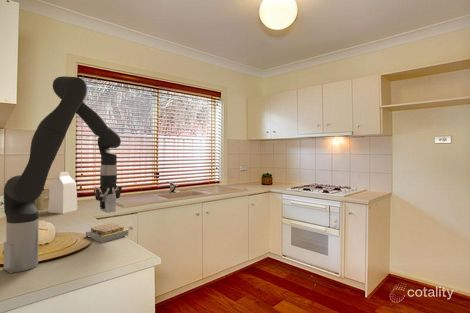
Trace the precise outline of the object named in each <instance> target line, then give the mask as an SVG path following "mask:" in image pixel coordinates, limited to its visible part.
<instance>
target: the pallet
mask: <svg viewBox="0 0 470 313" xmlns="http://www.w3.org/2000/svg"><path fill="white" fill-rule="evenodd" d="M124 229H125V226H122V225H119V224H116V223H112V222H108V223H104V224H101V225H97V226H93V227H90V230H91V232H95V231H96V233H97V234H99V233H101V235H102V236H104V235H107V234H111V233H115V232H119V231H122V230H124Z"/></svg>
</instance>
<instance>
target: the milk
mask: <svg viewBox="0 0 470 313" xmlns="http://www.w3.org/2000/svg"><path fill="white" fill-rule="evenodd" d="M48 195H49V196H48V208H47V210H48V211H47V212H48V213H53V214H60V215H61V214H62V215H63V214H66V213H70V212H74V211H78V193H77V183H76V181H75V180H74V179H73V178H72V177H71V176H70V174H69V171H62V172H59V173H58V175H57V177H55V178H54V180H52V181H51V182H50V185H49V194H48Z"/></svg>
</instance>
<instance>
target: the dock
mask: <svg viewBox="0 0 470 313" xmlns="http://www.w3.org/2000/svg"><path fill="white" fill-rule="evenodd" d="M129 231H130V230H129V229H126V228H124V230H122V231H119V232H115V233H111V234H107V235H104V236H102V235H101V233H99V234H97V233H96V231H95V232H91V229H90V230H86V231H85V237H86V236H90V237H91V238H92V239H91V238H90V239H91V240H94V241H97V242H100V243H105V242H110V241H113V240H116V239H120V238H123V237H126V236H129Z"/></svg>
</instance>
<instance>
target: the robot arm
mask: <svg viewBox="0 0 470 313" xmlns="http://www.w3.org/2000/svg"><path fill="white" fill-rule="evenodd" d="M52 89H53V92H54V94H55V95H56V96H57V97H58V98H59V99H60V102H59V104H58V105H57V106H56V107H55V108H54V109H53V110H52V111H51V112H50V113H48V114H47V115H46V116H44V118H43V119H42V120H41V121H40V122H39V124H38V125H37V128H36V129H35V131H34V133H33V136H32V138H31V142H30V149H29V150H30V151H29V158H28V162H27V164H26V166H25V168H24V169H23V172H22V174H21V175H16V176H12V177H10V178H9V179H8V180H7V181H6V182H5V184H4V187H3V212H4V214H5V218H6V219H5V223H6V227H5V228H6V230H5V233H6V234H5V235H6V236H5V242H3V269H4V270H5V271H6V272H7V273H9V274H13V273H17V272H18V273H19V272H20V273H21V272H24V271H27V270H31V269H33V268H36V267H37V266H38V265H39V236H40V235H39V232H40V231H39V230H40V228H39V225H40V220H39V219H40V218H39V217H40V214H39V212H40V211H39V210H38V208H37V207H36V203H35V201H36V200H37V199H38V198H40V196H41V195H42V193H43V191H44V188H45V185H46V182H47V179H48V175H49V173H50V170H51V167H52V165H53V162H54V161H55V159H56V156H57V154H58V153H59V150H60V148H61V146H62V143H63V141H64V140H65V137H66V134H67V133H68V130H69V129H70V127H71V123H73V122H72V121H73V120H74V118H75V115H76V114H77V116H78V117H79V118H81V120H82V121H83V122H84V123H85V125H86V126H87V127H88V128H89V129H90V131H91V132H92V133H93V134H94V135H95V136H97V146H98V150H99V153H100V168H99V183H100V186H99V187H98V188H94V189H93V193H94V197H95V198H94V199H95V200H96V201H98V202H99V208H101V209H105V202H104V201H105V196H106V195H107V194H115V195H116V200H117V199H119V198H121V197H120V196H121V194H122V193H121V192H122V190H123V187H122V186H120V185H117V182H118V167H117V165H118V164H117V163H118V162H117V160H118V159H117V158H118V156H117V154H116V153H114V152H111V150H110V149H116V148H118V147H120V145H121V144H122V143H121V142H122V141H121V137H120V135H119V134H118V133H117V132H116V131H115V130H113V129H112V127H110V126H109V125H108V124H107V122H106V121H105V120H104V119H103V117H102V116H101V115H100V114H99V113H98V112H97V111H96V110H94V109H93V108H92V107H90V106H89V105H88V104H86V102H85V101H84V100H85V99H86V96H87V93H88V84H87V82H86V81H85V80H84V79H83V78H82V77H79V76H77V77H76V76H63V75H62V76H57V77H55V79H53V82H52ZM103 194H104V195H103ZM100 196H101V197H100Z"/></svg>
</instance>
